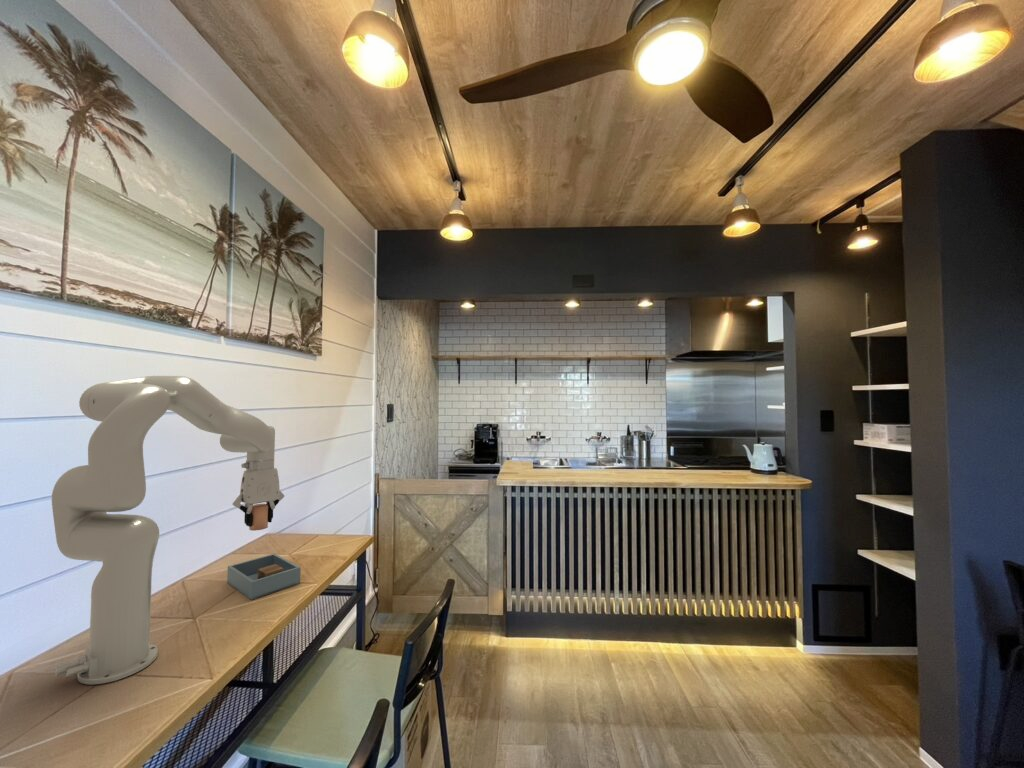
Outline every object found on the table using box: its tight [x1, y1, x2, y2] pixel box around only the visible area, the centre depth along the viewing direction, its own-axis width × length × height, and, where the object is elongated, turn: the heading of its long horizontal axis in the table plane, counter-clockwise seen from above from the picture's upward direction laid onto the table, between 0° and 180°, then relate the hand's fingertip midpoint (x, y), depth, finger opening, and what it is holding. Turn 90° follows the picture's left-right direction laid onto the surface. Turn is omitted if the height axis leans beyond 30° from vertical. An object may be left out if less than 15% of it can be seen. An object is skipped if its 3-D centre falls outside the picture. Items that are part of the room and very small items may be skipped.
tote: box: [226, 553, 302, 601], centre depth 130 cm, size 14×18×5 cm
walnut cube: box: [258, 564, 283, 579], centre depth 127 cm, size 5×5×5 cm
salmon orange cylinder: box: [248, 503, 269, 531], centre depth 133 cm, size 5×5×7 cm
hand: (258, 523), depth 133 cm, fingers closed on salmon orange cylinder, 4 cm apart
